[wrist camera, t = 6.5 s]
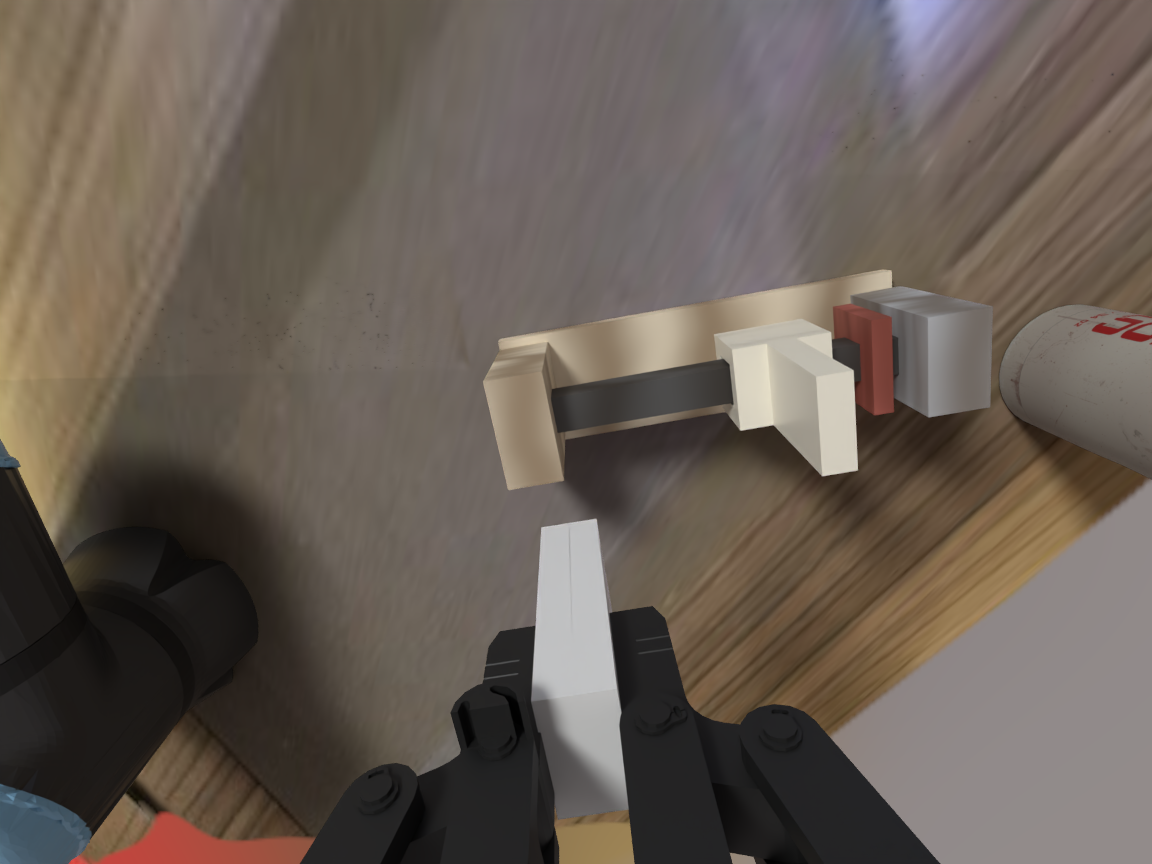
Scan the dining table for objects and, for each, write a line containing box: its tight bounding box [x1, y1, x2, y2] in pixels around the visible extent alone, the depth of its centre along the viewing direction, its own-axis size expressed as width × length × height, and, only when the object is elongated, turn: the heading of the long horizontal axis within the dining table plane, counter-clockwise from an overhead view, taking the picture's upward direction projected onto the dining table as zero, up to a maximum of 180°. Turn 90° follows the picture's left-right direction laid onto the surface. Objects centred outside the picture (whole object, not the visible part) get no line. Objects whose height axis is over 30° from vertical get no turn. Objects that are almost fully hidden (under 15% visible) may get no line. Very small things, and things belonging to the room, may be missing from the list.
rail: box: [483, 269, 993, 490], centre depth 36 cm, size 24×7×10 cm, turn 100°
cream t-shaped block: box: [714, 319, 858, 476], centre depth 32 cm, size 5×4×11 cm
